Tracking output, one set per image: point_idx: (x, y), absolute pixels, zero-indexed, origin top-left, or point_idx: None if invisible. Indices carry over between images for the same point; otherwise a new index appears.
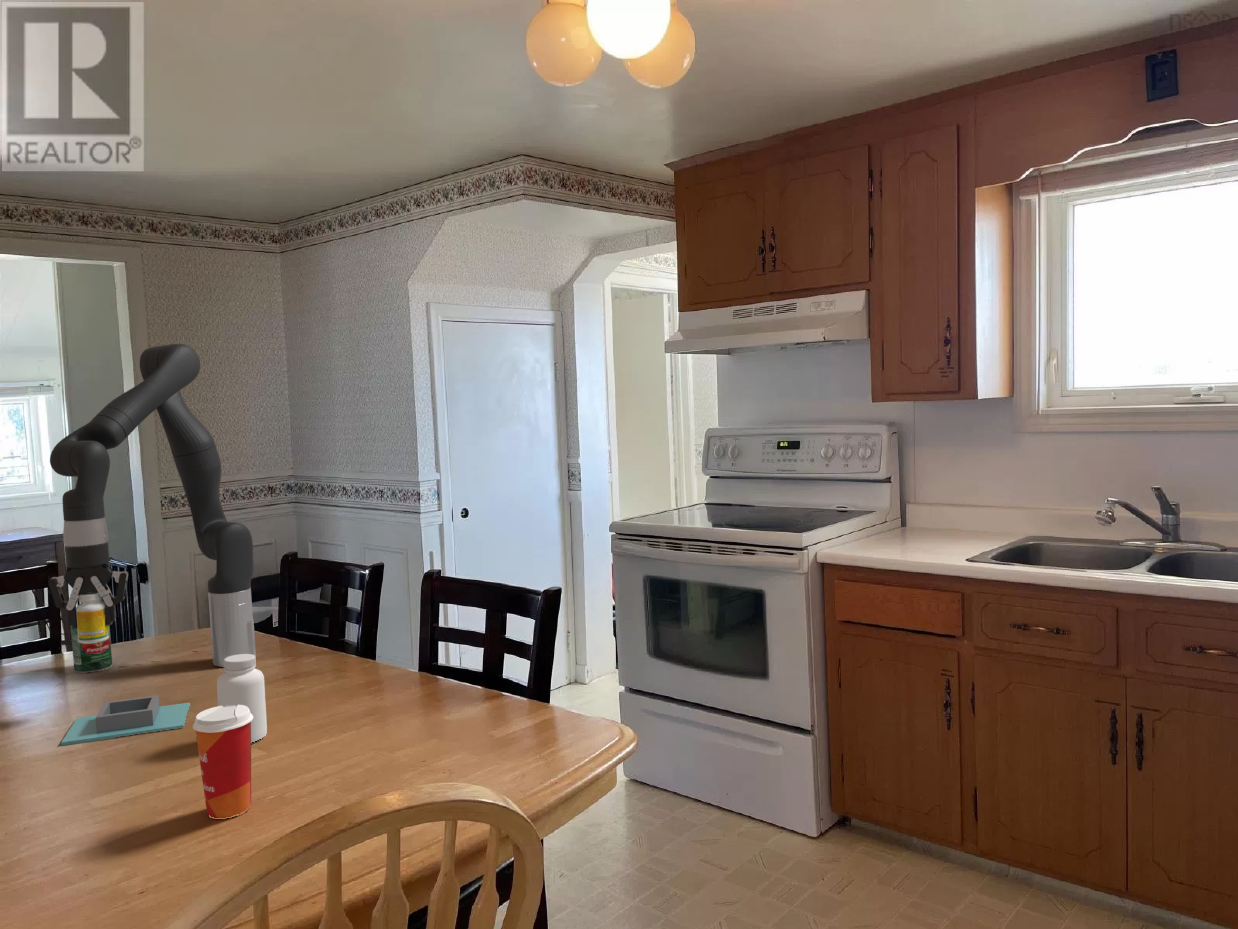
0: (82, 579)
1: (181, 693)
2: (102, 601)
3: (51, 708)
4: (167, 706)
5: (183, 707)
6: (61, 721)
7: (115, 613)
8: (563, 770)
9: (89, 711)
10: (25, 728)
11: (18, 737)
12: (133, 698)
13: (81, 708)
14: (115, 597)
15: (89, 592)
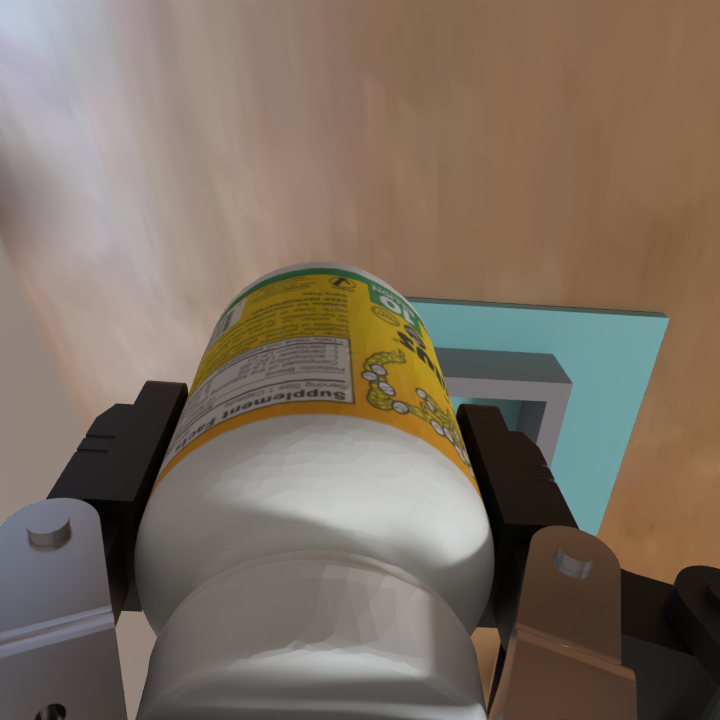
0: None
1: (674, 102)
2: (457, 592)
3: (85, 7)
4: (585, 327)
5: (634, 368)
6: (194, 260)
7: (550, 488)
8: None
9: (284, 173)
10: (71, 280)
11: (85, 375)
12: (478, 380)
13: (239, 99)
14: (637, 711)
15: (282, 717)
